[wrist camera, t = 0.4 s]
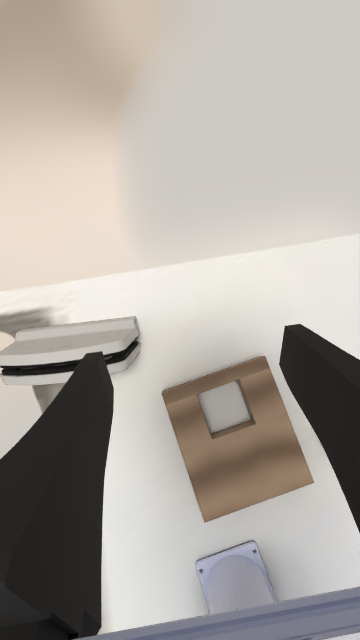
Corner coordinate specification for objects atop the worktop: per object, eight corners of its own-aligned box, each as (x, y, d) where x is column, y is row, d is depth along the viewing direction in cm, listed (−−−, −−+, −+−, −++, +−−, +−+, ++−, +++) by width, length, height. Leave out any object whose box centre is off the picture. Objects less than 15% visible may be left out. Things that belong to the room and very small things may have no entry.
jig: (305, 474, 38) (314, 482, 35) (203, 511, 37) (204, 522, 35) (260, 356, 40) (265, 356, 37) (163, 390, 40) (161, 393, 37)
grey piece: (138, 315, 41) (126, 334, 31) (143, 347, 42) (133, 375, 32) (20, 329, 41) (-28, 352, 31) (27, 361, 42) (-17, 392, 32)
